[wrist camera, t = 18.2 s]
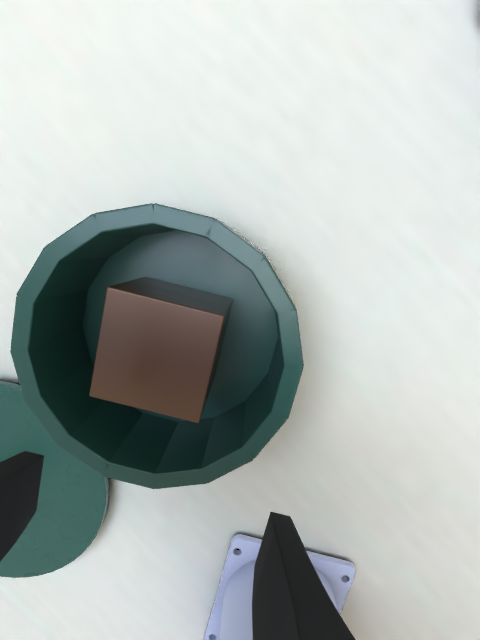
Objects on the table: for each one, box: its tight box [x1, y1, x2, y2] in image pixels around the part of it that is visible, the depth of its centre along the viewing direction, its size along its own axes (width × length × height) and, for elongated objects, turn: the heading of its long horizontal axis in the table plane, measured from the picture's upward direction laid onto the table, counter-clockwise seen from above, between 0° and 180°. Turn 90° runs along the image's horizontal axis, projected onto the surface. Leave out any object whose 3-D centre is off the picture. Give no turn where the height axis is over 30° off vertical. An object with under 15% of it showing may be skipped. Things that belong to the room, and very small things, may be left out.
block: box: [89, 277, 233, 423], centre depth 18 cm, size 5×5×5 cm
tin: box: [10, 203, 304, 489], centre depth 18 cm, size 12×12×5 cm
